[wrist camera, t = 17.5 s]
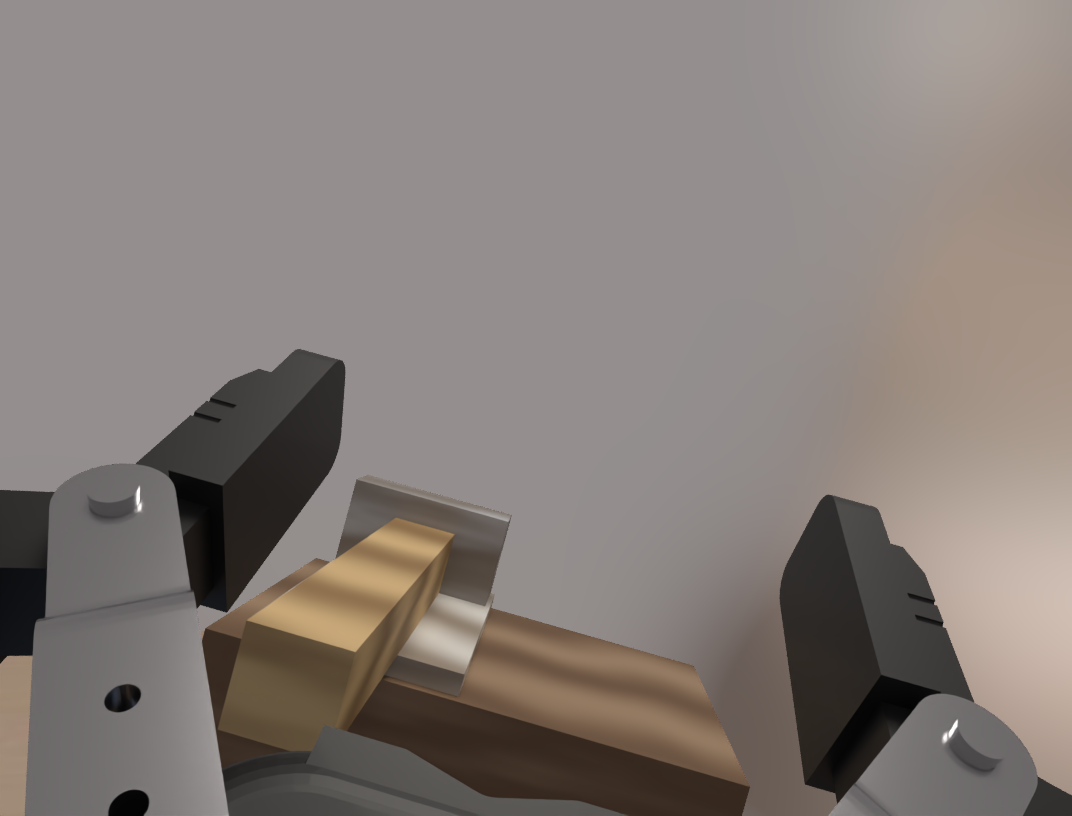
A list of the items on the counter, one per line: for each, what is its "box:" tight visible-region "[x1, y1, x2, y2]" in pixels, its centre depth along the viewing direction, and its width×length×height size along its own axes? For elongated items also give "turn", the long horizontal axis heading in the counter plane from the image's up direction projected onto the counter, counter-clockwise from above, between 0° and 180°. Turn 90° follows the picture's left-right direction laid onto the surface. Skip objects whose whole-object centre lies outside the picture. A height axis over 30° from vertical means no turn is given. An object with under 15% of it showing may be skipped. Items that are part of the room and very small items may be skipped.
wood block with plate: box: [218, 475, 511, 751], centre depth 34 cm, size 22×9×5 cm, turn 177°
